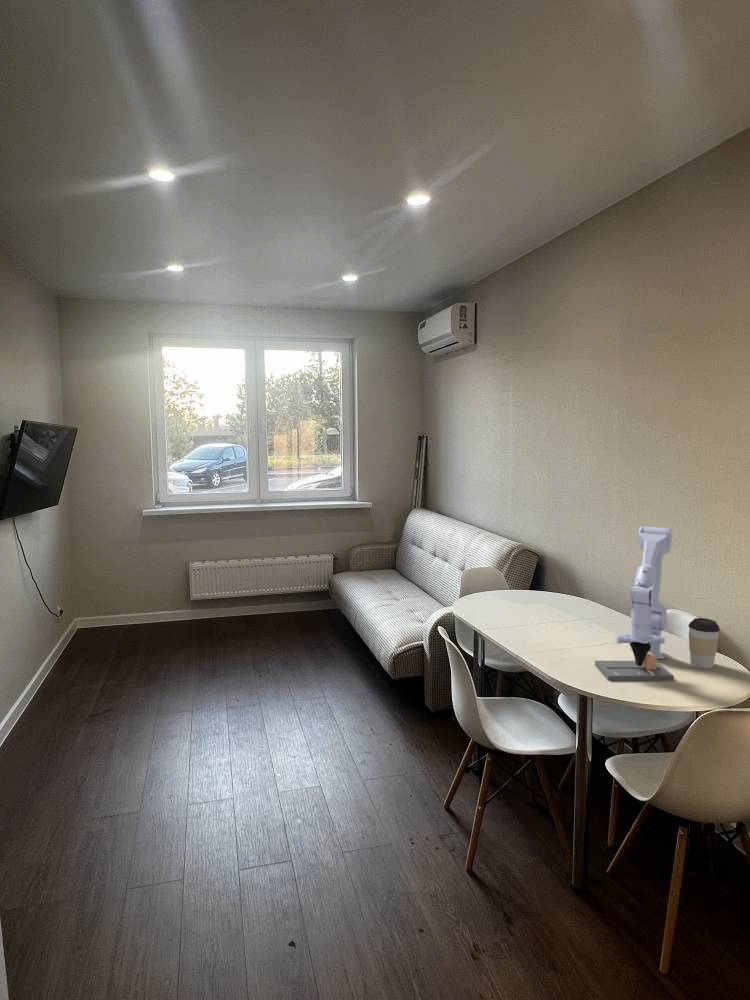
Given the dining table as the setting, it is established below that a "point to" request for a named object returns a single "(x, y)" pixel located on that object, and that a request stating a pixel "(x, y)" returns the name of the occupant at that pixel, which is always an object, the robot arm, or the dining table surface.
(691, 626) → the coffee cup
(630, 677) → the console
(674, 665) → the dining table surface
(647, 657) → the fader tab
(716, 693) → the dining table surface
